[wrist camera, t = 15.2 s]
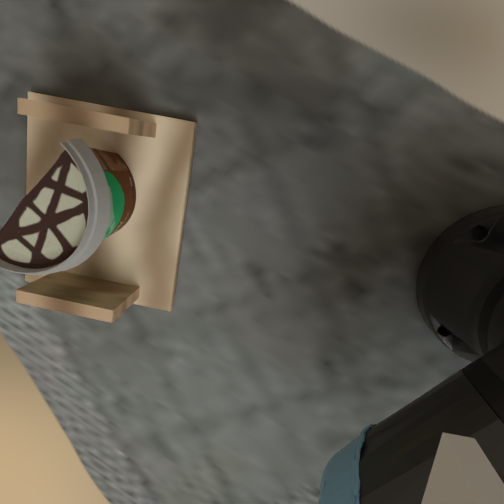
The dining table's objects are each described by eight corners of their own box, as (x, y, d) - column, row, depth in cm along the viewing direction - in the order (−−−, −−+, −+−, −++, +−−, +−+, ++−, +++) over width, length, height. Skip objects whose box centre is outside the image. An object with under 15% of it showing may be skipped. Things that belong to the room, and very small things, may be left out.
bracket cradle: (197, 122, 35) (175, 115, 28) (173, 307, 40) (149, 338, 33) (35, 93, 35) (-26, 78, 29) (31, 277, 40) (-21, 302, 34)
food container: (96, 273, 38) (31, 312, 29) (51, 230, 38) (-31, 256, 28) (175, 189, 35) (131, 202, 26) (127, 141, 35) (65, 136, 25)
